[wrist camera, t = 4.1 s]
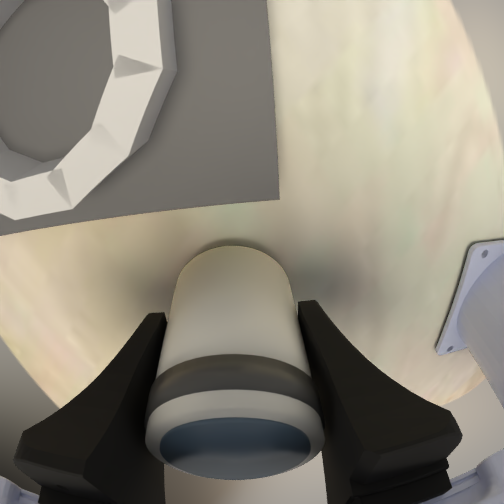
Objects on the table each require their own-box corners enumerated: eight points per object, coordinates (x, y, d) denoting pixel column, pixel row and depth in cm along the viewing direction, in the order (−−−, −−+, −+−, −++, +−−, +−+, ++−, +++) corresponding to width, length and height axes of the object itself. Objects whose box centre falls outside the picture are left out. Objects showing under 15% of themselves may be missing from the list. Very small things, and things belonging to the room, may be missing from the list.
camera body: (250, -85, 6) (258, -140, 3) (272, 180, 12) (289, 226, 9) (-46, 20, 6) (-102, 23, 3) (-14, 223, 12) (-61, 266, 8)
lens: (292, 237, 12) (341, 398, 6) (292, 333, 15) (320, 476, 9) (161, 249, 12) (110, 409, 6) (186, 341, 15) (170, 483, 9)
